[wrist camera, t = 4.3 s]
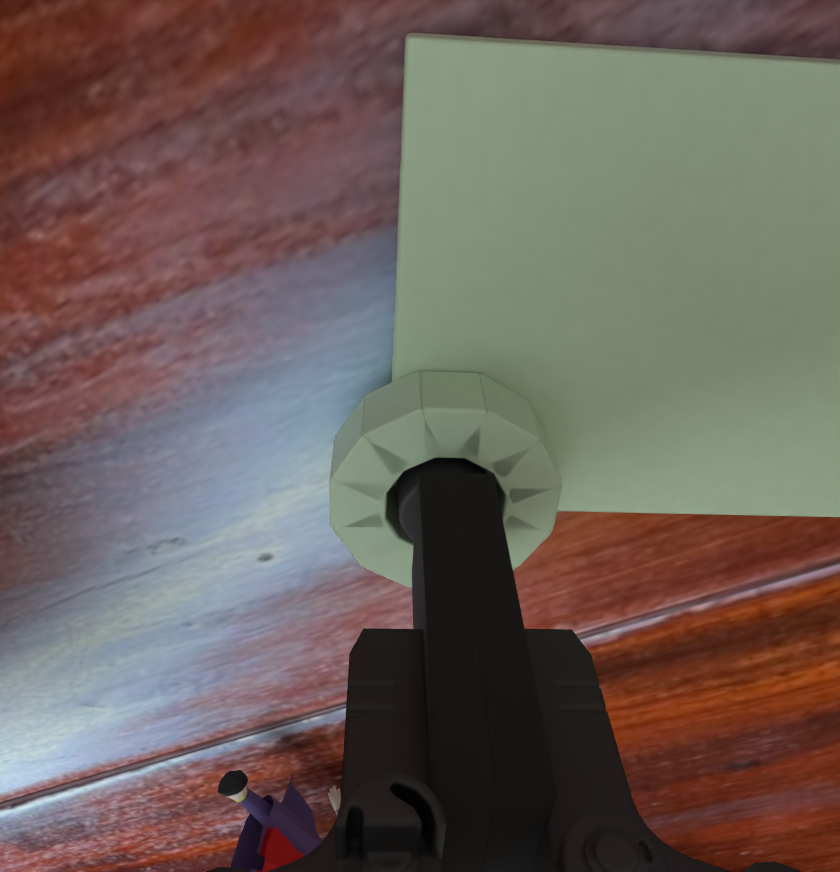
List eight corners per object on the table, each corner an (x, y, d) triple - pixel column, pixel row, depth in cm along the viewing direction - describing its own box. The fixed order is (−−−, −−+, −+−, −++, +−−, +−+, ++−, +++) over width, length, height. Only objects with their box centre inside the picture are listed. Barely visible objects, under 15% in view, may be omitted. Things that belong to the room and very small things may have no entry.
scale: (337, 517, 18) (331, 587, 16) (333, 26, 12) (322, 40, 10) (829, 527, 19) (883, 595, 17) (1055, 72, 13) (1180, 93, 11)
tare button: (396, 504, 17) (396, 550, 15) (399, 433, 16) (400, 476, 14) (480, 506, 17) (488, 551, 16) (490, 436, 16) (498, 478, 14)
